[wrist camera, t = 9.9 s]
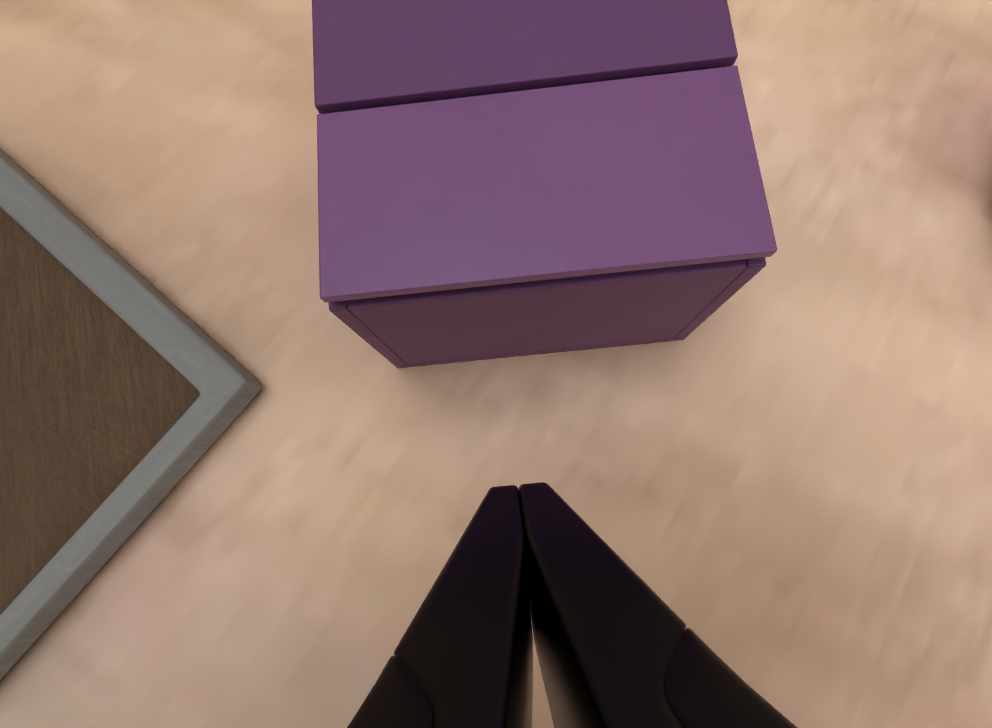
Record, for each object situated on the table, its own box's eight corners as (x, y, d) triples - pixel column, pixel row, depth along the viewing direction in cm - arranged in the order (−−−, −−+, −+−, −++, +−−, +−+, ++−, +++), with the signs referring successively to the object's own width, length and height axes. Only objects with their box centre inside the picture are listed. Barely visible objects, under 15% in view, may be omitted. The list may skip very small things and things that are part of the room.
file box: (683, 339, 22) (781, 253, 14) (397, 368, 23) (316, 301, 14) (644, 95, 25) (706, -111, 16) (384, 125, 25) (308, -60, 16)
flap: (771, 256, 14) (778, 250, 14) (325, 303, 15) (319, 298, 14) (732, 75, 15) (737, 64, 15) (321, 122, 16) (316, 113, 15)
